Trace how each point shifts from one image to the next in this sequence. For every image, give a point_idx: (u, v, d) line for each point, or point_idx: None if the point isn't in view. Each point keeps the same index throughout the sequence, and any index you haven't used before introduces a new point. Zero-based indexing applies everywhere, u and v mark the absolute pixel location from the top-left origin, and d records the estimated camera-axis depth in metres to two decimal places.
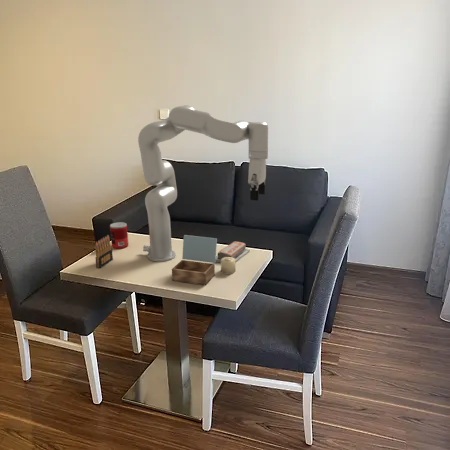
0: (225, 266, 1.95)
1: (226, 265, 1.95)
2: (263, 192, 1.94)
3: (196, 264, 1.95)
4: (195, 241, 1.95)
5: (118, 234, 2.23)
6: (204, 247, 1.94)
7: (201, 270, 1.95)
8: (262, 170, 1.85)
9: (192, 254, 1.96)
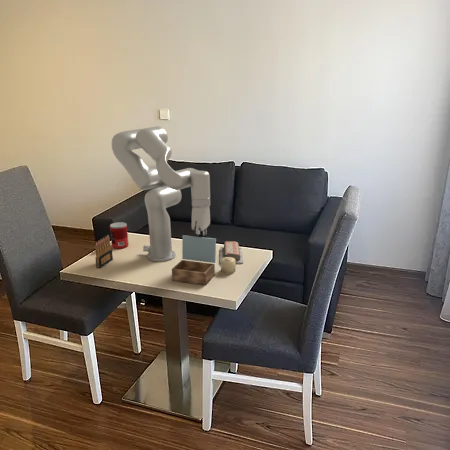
0: (225, 266, 1.95)
1: (226, 265, 1.95)
2: None
3: (196, 264, 1.95)
4: (194, 241, 1.95)
5: (118, 234, 2.23)
6: (203, 247, 1.94)
7: (201, 270, 1.95)
8: (205, 217, 1.91)
9: (192, 254, 1.96)
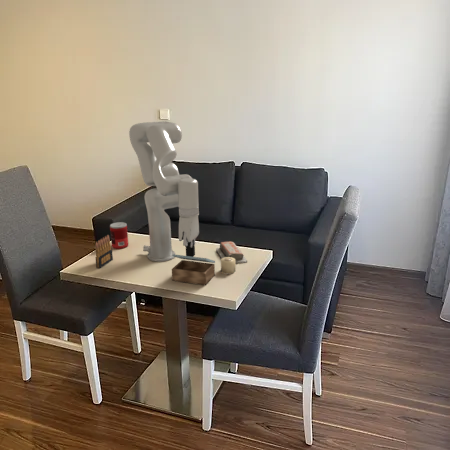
0: (225, 266, 1.95)
1: (226, 265, 1.95)
2: None
3: (196, 264, 1.95)
4: (187, 258, 1.89)
5: (118, 234, 2.23)
6: None
7: (201, 270, 1.95)
8: (193, 227, 1.81)
9: (190, 259, 1.94)
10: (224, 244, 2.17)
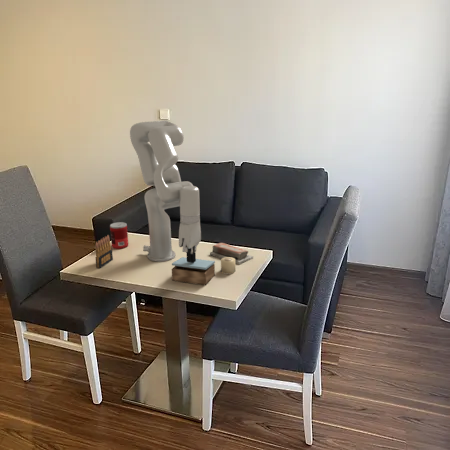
0: (225, 266, 1.95)
1: (226, 265, 1.95)
2: None
3: None
4: None
5: (118, 234, 2.23)
6: None
7: (201, 270, 1.95)
8: (193, 234, 1.83)
9: None
10: (220, 246, 2.15)
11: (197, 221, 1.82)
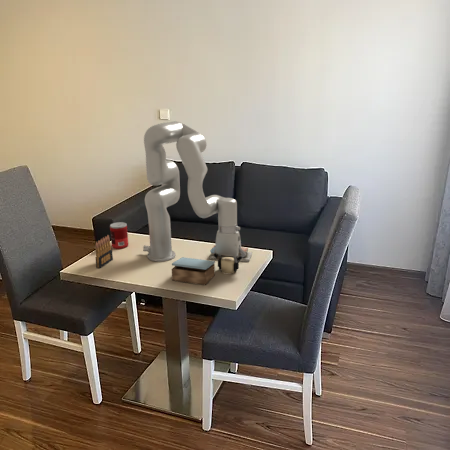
0: (225, 266, 1.95)
1: (226, 265, 1.95)
2: (234, 269, 1.96)
3: None
4: None
5: (118, 234, 2.23)
6: None
7: (201, 270, 1.95)
8: (221, 243, 1.93)
9: None
10: None
11: (223, 232, 1.90)
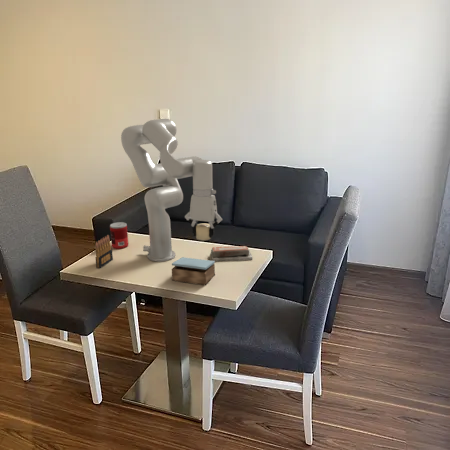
0: (200, 232, 1.86)
1: (201, 231, 1.86)
2: None
3: None
4: None
5: (118, 234, 2.23)
6: None
7: (201, 270, 1.95)
8: (195, 207, 1.84)
9: None
10: (220, 249, 2.11)
11: (198, 196, 1.81)
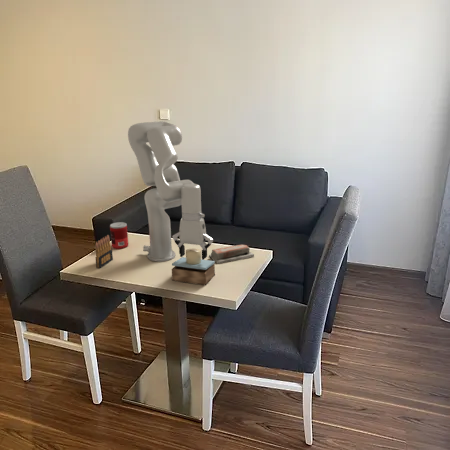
0: (190, 256, 1.87)
1: (191, 255, 1.87)
2: (202, 257, 1.87)
3: None
4: None
5: (118, 234, 2.23)
6: None
7: (201, 270, 1.95)
8: (184, 231, 1.85)
9: None
10: (223, 251, 2.09)
11: (186, 219, 1.82)
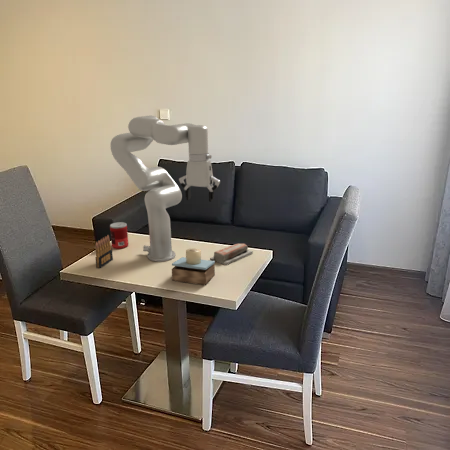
0: (190, 256, 1.87)
1: (191, 255, 1.87)
2: (209, 199, 1.88)
3: None
4: None
5: (118, 234, 2.23)
6: None
7: (201, 270, 1.95)
8: (191, 173, 1.86)
9: None
10: (227, 252, 2.08)
11: (193, 160, 1.83)
